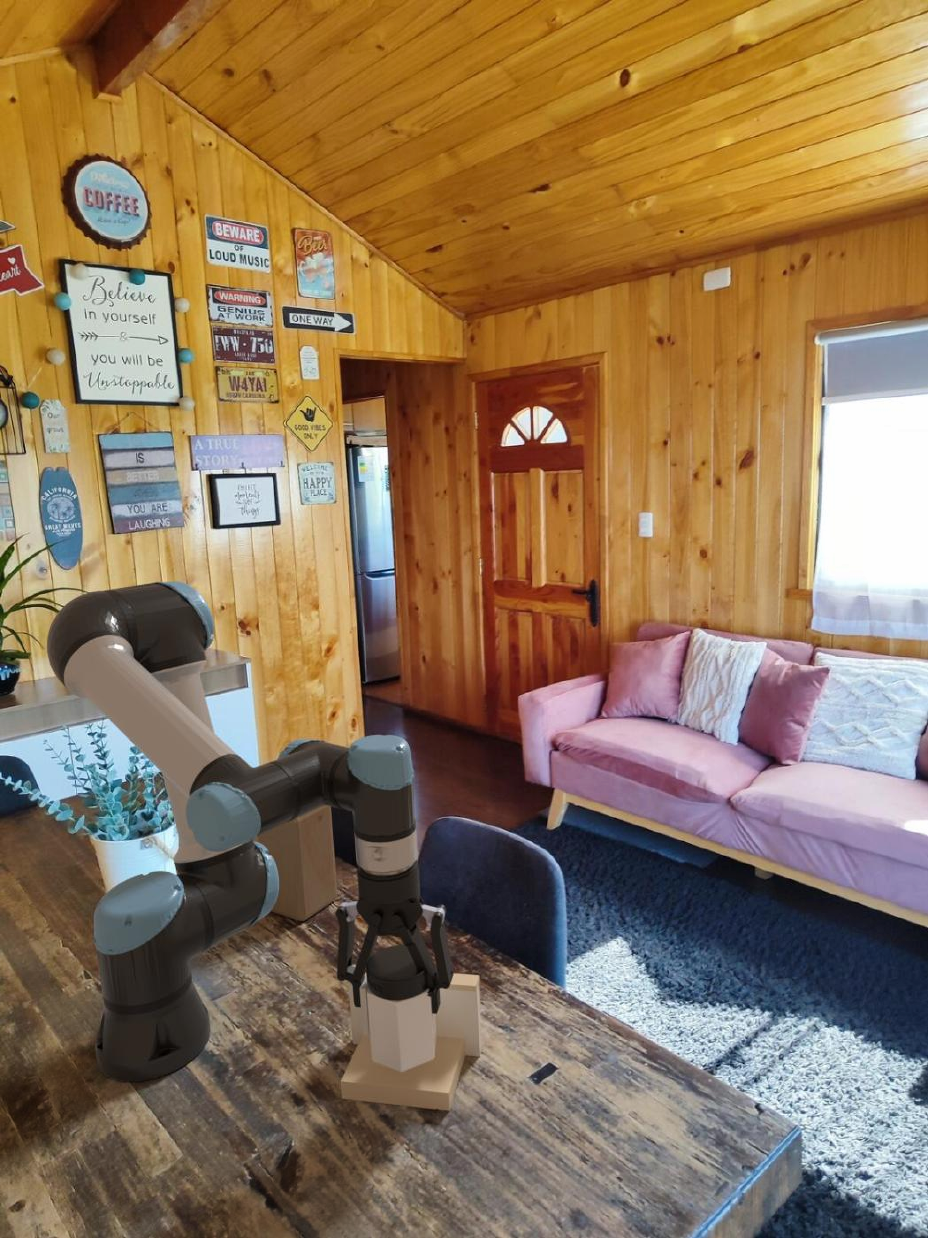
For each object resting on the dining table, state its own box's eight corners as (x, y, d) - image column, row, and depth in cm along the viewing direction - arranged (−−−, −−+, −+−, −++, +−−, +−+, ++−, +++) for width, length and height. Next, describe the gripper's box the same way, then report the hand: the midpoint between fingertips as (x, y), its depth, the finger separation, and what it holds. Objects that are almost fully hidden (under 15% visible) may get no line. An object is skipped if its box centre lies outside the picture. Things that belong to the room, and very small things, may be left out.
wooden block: (339, 899, 154) (332, 798, 151) (302, 925, 146) (293, 818, 142) (300, 887, 159) (292, 789, 156) (262, 911, 151) (253, 808, 148)
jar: (376, 1026, 109) (370, 943, 107) (438, 1024, 109) (433, 941, 107) (367, 1074, 100) (360, 985, 98) (434, 1072, 100) (428, 982, 98)
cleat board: (327, 1097, 105) (321, 1020, 103) (357, 1034, 116) (352, 965, 114) (465, 1113, 101) (461, 1034, 99) (482, 1047, 113) (479, 975, 111)
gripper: (298, 873, 99) (313, 1043, 103) (461, 881, 95) (471, 1059, 99) (321, 845, 106) (334, 1006, 110) (473, 852, 102) (481, 1018, 106)
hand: (398, 1031), depth 104 cm, fingers closed on jar, 7 cm apart
